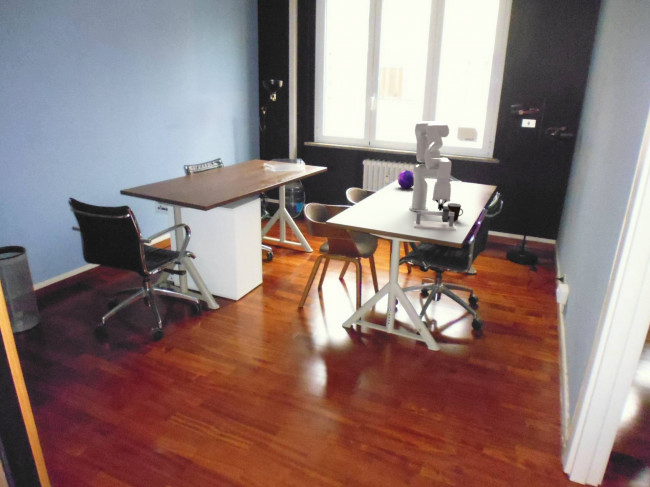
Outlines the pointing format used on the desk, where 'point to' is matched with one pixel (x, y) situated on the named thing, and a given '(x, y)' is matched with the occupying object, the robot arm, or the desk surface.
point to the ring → (445, 214)
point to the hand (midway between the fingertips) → (440, 210)
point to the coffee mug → (455, 210)
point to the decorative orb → (406, 179)
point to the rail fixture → (434, 225)
